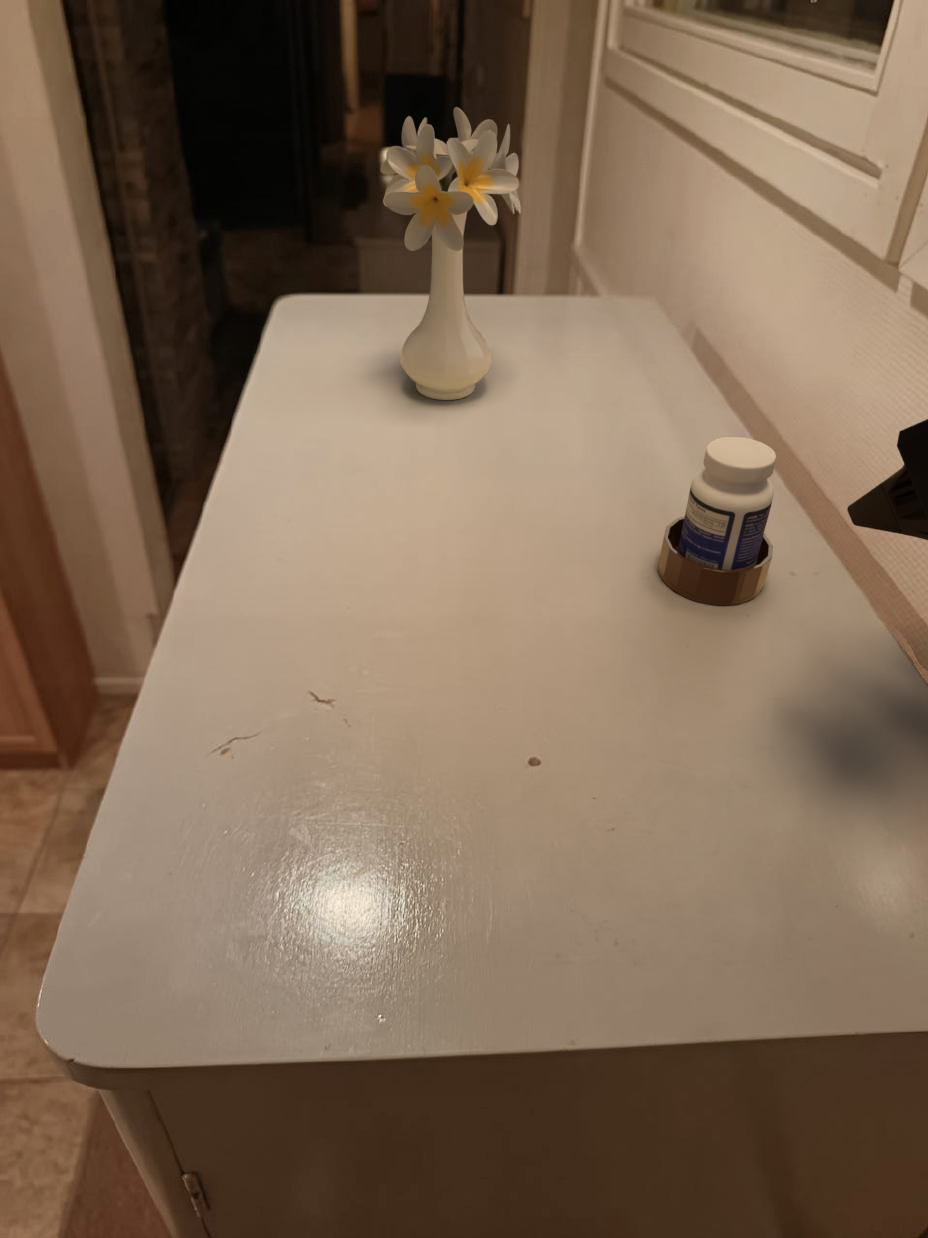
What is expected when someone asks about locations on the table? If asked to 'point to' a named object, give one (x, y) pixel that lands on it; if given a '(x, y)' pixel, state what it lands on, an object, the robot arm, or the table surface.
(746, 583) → the dock
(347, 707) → the table surface
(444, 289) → the flower vase
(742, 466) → the pill bottle
